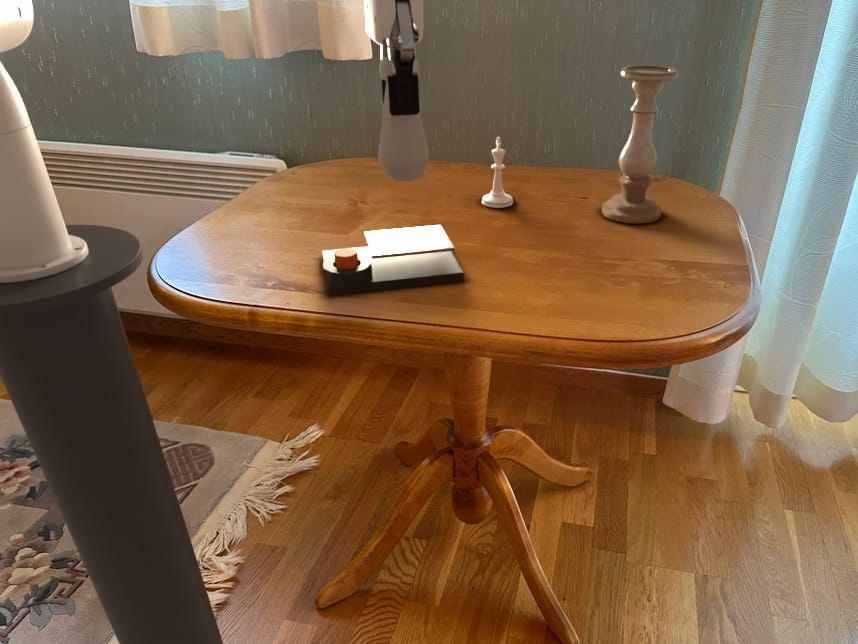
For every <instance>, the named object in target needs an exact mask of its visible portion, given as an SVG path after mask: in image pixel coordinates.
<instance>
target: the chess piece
mask: <svg viewBox="0 0 858 644" xmlns="http://www.w3.org/2000/svg"><path fill="white" fill-rule="evenodd" d="M495 144H496V147H495V148H493V149H492V150H491V154H492V157H493V162H494V163H493V164H491V166H490V168H491V169H492V170H494V174H493V182H492V189H491V190H490V192H489V193H486V194H484V195H483V196H482V198H481V204H482V205H483V206H484V207H488V208H494V209H502V208H503V209H504V208H508V207H511V206H512V205H513V203H514V197H512V196H511V195H510V194H508V193H506V191H504V187H503V179H502V178H503V177H502V170H505V169H506V166H505V164H503V163H502V162H503V160H504V156H505V154H506V150H505V149H503V148H501V147H502V142H501V136H496V140H495Z"/></svg>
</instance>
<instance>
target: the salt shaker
mask: <svg viewBox="0 0 858 644" xmlns="http://www.w3.org/2000/svg"><path fill="white" fill-rule="evenodd" d="M416 61H417V75H418V79H419V77H420V63H419V61H418V59H416ZM378 68H379V69H378V70H379V76H380V80H381V79H383V80H385V81H386V87H385V97H384V104H383V107H382V116H381V128H380V134H379V135H380V136H379V137H380V138H379V145H378V154H377V157H378V161H379V163H380V165H381V167H382V169H383V172H384V173H385V175H386V177H387V178H389V179H390V180H393V181H395V182H413V181H417V180H419V179H422V178H423V176H424V173H425V170H426V168H427V165H428V162H429V158H430V152H429V148H428V143H427V139H426V134H425V129H424V125H423V124H424V123H423V119H422V115H421V110H420V111H419V113H418V114H416V115H399V116H393V115H391V113H390V110H389V95H388V79H387V75H390V68H389V57H385V58H383V59H382V61H381V60H380V61H379V67H378Z"/></svg>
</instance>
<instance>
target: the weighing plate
mask: <svg viewBox="0 0 858 644" xmlns="http://www.w3.org/2000/svg"><path fill="white" fill-rule="evenodd" d="M363 235H364V239H365V242H366V244H367V246H368V248H369V251H370V254H371V257H372V259H377V258H387V257H397V256H407V255H416V254H426V253H436V252H446V251H451V252H454V251H456V248H455V246H454V244H453V243H452V241H451V239H450V238H449V236H448V235H447V233H446V230H444V228H443V226H442V225H441V224H435V225H424V226H412V227H402V228H390V229H379V230H370V231H363Z"/></svg>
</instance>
